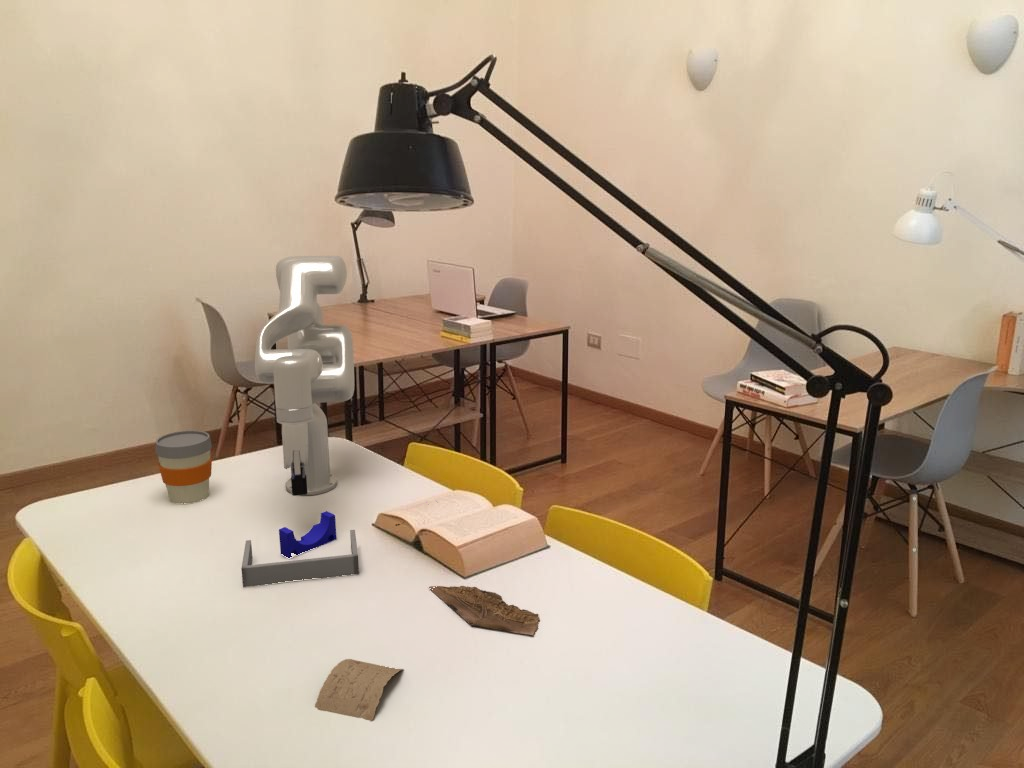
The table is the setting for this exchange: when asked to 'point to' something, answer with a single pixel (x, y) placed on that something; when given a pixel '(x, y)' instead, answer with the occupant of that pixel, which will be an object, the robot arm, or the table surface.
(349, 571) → the u-shaped bracket
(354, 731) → the table surface
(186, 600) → the table surface
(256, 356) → the robot arm
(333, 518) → the blue curved cradle
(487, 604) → the wooden fragment
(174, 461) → the reusable coffee cup
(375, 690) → the brown curved piece
